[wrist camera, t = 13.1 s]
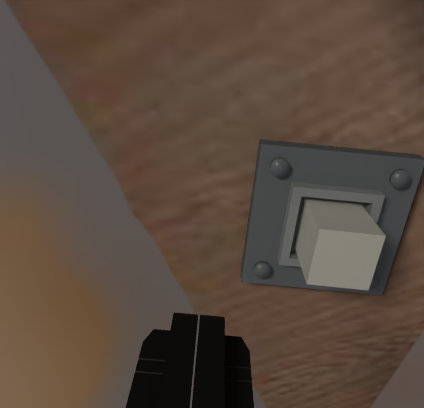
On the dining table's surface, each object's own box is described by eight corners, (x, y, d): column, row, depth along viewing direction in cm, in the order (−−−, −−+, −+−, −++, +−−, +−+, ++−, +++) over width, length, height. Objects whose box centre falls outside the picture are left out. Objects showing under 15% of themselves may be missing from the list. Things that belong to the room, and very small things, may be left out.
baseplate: (259, 139, 34) (262, 147, 32) (418, 154, 35) (432, 164, 32) (240, 273, 40) (241, 289, 38) (376, 286, 40) (386, 303, 38)
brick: (304, 197, 35) (319, 228, 29) (360, 203, 35) (385, 235, 30) (294, 246, 37) (306, 284, 31) (347, 252, 37) (368, 290, 32)
